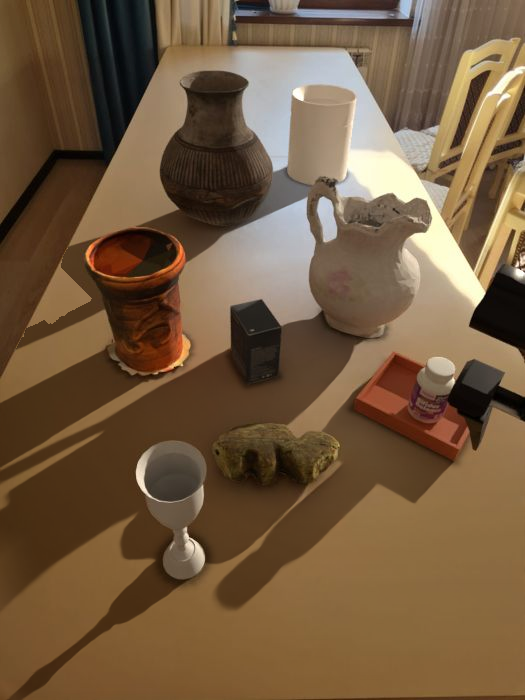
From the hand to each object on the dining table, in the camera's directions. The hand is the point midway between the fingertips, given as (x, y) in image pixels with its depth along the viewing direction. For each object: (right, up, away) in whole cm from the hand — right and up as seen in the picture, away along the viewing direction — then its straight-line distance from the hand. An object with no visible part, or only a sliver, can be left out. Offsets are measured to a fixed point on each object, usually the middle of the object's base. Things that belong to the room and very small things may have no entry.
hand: (515, 467), depth 60 cm
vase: (-38, +44, +66) cm, 88 cm away
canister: (-13, +61, +86) cm, 106 cm away
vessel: (-47, +13, +32) cm, 58 cm away
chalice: (-38, -12, +5) cm, 40 cm away
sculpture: (-26, -3, +15) cm, 31 cm away
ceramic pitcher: (-12, +20, +41) cm, 47 cm away
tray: (-4, +4, +24) cm, 24 cm away
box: (-30, +10, +30) cm, 43 cm away
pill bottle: (-3, +4, +22) cm, 23 cm away
